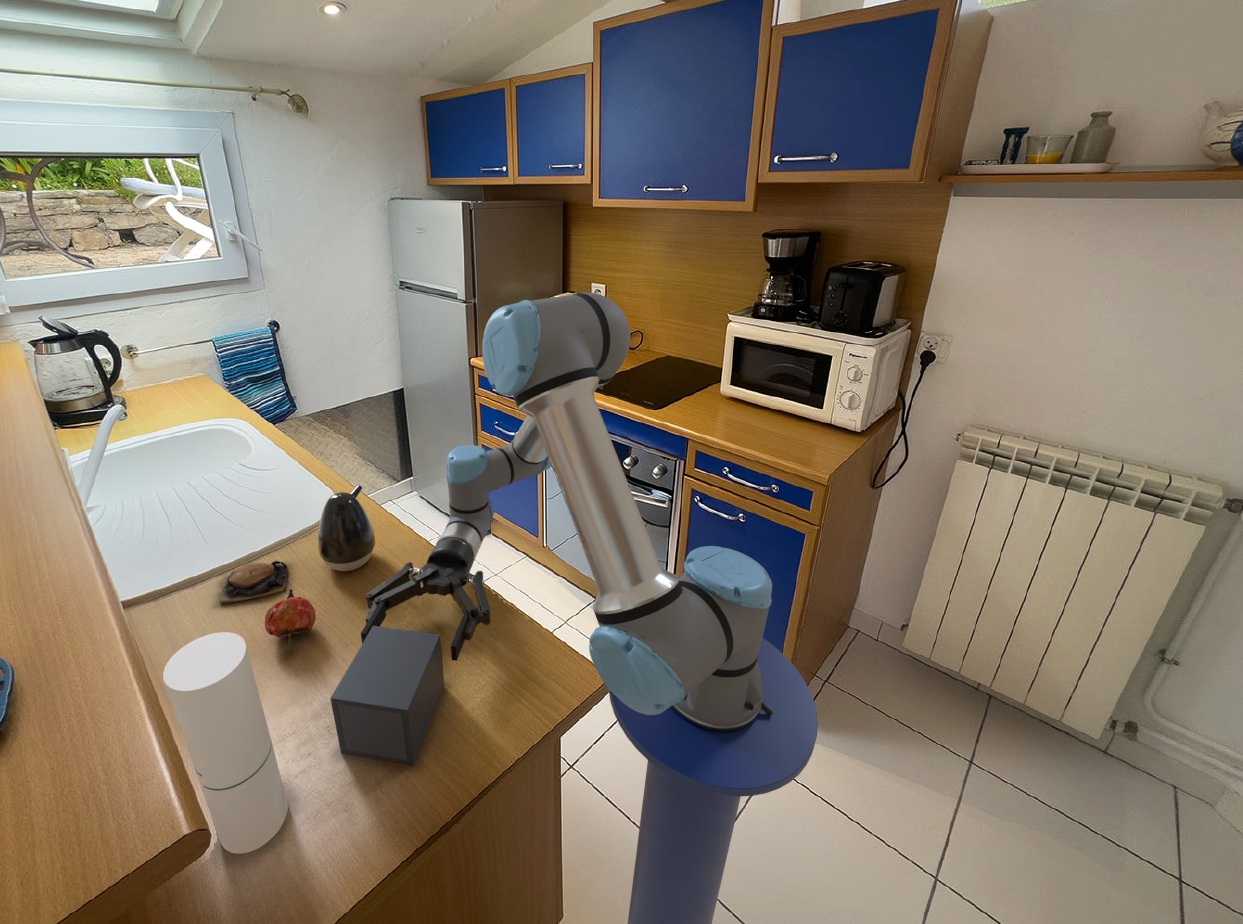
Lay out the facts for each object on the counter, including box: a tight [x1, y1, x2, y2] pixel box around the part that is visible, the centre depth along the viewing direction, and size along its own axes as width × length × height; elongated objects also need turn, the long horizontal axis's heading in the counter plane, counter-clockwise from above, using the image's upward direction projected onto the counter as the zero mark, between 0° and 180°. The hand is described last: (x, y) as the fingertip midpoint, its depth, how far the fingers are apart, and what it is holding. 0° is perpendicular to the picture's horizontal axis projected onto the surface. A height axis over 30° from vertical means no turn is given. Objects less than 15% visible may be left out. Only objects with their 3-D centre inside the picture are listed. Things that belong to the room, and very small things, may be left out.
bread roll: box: [218, 560, 288, 604], centre depth 100 cm, size 11×8×4 cm
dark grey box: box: [330, 626, 445, 766], centre depth 75 cm, size 10×12×10 cm
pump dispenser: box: [317, 484, 376, 572], centre depth 104 cm, size 10×10×15 cm
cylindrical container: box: [162, 631, 289, 855], centre depth 60 cm, size 7×7×25 cm
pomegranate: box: [264, 588, 317, 656], centre depth 88 cm, size 7×7×10 cm
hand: (408, 647), depth 80 cm, fingers open, 13 cm apart
